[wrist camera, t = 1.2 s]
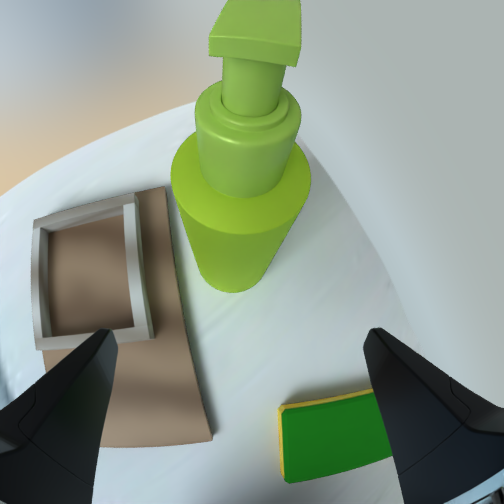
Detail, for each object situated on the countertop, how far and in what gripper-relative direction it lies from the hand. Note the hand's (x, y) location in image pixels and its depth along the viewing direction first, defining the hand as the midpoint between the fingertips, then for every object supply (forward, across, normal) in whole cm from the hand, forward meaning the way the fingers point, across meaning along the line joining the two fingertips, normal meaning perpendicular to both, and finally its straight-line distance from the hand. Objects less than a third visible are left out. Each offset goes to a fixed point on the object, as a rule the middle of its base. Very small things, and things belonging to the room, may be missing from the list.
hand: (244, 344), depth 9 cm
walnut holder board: (+10, +11, +9) cm, 17 cm away
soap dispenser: (+15, 0, +4) cm, 15 cm away
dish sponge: (+4, -11, +16) cm, 20 cm away
